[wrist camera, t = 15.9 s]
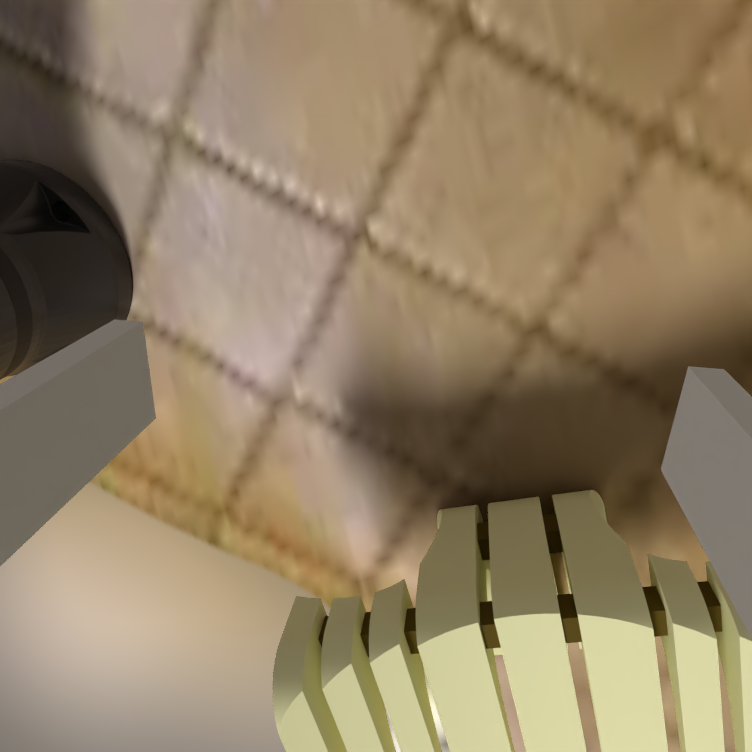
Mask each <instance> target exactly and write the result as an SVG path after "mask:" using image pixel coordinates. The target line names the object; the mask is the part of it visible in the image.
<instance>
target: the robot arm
mask: <svg viewBox="0 0 752 752" xmlns="http://www.w3.org/2000/svg"><path fill="white" fill-rule="evenodd" d="M131 298H132V279H131V271H130V266H129V261H128V258H127V254H126V251H125V249H124V246H123V243H122V241H121V239H120V237H119V235H118V233H117V231H116V229H115V227H114V226H113V224H112V222H111V221H110V219H109V218H108V217H107V215H106V214H105V212H104V211H103V210H102V209H101V207H100V206H99V205H98V204H97V203H96V202H95V200H94V199H93V198H92V197H91V196H90V195H89V194H87V193H86V192H85V191H84V190H83V189H82V188H81V187H79V186H78V185H77V184H75V183H74V182H73V181H71V180H70V179H68V178H67V177H65V176H63V175H62V174H60V173H58V172H56V171H54V170H52V169H50V168H47V167H45V166H42V165H39V164H35V163H32V162H27V161H20V160H1V161H0V380H1V379H2V378H4V377H6V376H13V375H16V376H14V377H12V378H10V379H9V380H7V381H5V382H3V383H1V384H0V566H1V565H2V564H3V563H4V562H5V561H6V560H7V559H8V558H10V557H11V556H12V555H13V554H14V553H15V552H16V551H17V550H18V549H19V548H20V547H21V546H22V545H23V544H24V543H25V542H26V541H27V540H28V539H29V538H30V537H32V535H34V534H35V532H37V531H38V530H39V529H40V528H41V527H42V526H43V525H44V524H45V523H46V522H47V521H48V520H49V519H50V518H51V517H52V516H54V515H55V514H56V513H57V512H58V511H59V510H60V509H61V508H62V507H63V506H64V505H65V504H66V503H67V502H68V501H69V500H70V499H71V498H73V497H74V496H75V495H76V494H77V493H78V492H79V491H80V490H81V489H82V488H83V487H84V486H85V485H86V484H87V483H88V482H89V481H90V480H91V479H92V478H94V477H95V476H96V475H97V474H98V473H99V472H100V471H101V470H102V469H103V468H104V467H105V466H106V465H107V464H108V463H109V462H110V461H111V460H112V459H113V458H115V457H116V456H117V455H118V454H119V453H120V452H121V451H122V450H123V449H124V448H125V447H126V446H127V445H128V444H129V443H130V442H131V441H132V440H133V439H134V438H136V437H137V436H138V435H139V434H140V433H141V432H142V431H143V430H144V429H145V428H146V427H147V426H148V425H149V424H150V423H151V422H152V421H153V420H154V419H155V418H156V415H155V408H154V401H153V393H152V386H151V378H150V371H149V364H148V356H147V349H146V341H145V334H144V327H143V322H139V321H126V319H127V316H128V313H129V310H130V305H131ZM661 471H662V473H663V475H664V477H665V479H666V481H667V482H668V484H669V486H670V488H671V490H672V492H673V494H674V495H675V497H676V499H677V501H678V503H679V505H680V507H681V508H682V510H683V512H684V514H685V516H686V518H687V520H688V521H689V523H690V525H691V527H692V529H693V531H694V533H695V534H696V536H697V538H698V540H699V542H700V544H701V546H702V547H703V549H704V551H705V553H706V555H707V557H708V559H709V560H710V562H711V564H712V566H713V568H714V570H715V572H716V573H717V575H718V577H719V579H720V581H721V583H722V585H723V586H724V588H725V590H726V592H727V594H728V596H729V598H730V599H731V601H732V603H733V605H734V607H735V609H736V610H737V612H738V614H739V616H740V618H741V620H742V622H743V623H744V625H745V627H746V629H747V631H748V633H749V635H750V636H751V638H752V396H751V395H750V394H749V393H748V392H747V391H746V390H745V389H744V388H743V387H742V386H741V385H740V384H739V383H738V382H737V381H736V380H734V379H733V378H732V377H731V376H730V375H729V374H728V373H727V372H726V371H725V370H724V369H716V368H703V367H691V366H688V369H687V373H686V377H685V380H684V384H683V388H682V392H681V395H680V399H679V403H678V407H677V410H676V414H675V418H674V422H673V425H672V429H671V433H670V436H669V440H668V444H667V448H666V451H665V455H664V459H663V463H662V466H661Z"/></svg>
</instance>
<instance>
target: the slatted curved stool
mask: <svg viewBox="0 0 752 752" xmlns="http://www.w3.org/2000/svg"><path fill="white" fill-rule="evenodd" d="M552 500H553V506H554V512H555V514H547V515H543V514H542V509H541V504H540V499H539V497H532V498H525V499H517V500H509V501H501V502H494V503H489V504H488V522H483V519H482V515H481V512H480V509H479V507H478V505H471V506H463V507H455V508H447V509H440V510H439V511H438V514H437V526H438V532H437V534H436V537H435V539H434V541H433V543H432V545H431V547H430V549H429V550H428V552H427V554H426V555H425V557H424V558H423V560H422V562H421V563H420V568H419V576H418V585H417V594H416V608H413V605H412V602H411V598H410V595H409V592H408V589H407V585H406V582H405V579H403V580H402V581H400V582H399V583H397V584H395V585H393V586H391V587H388V588H386V589H384V590H381V591H377V592H375V595H374V600H373V605H372V610H371V612H366V609H365V607H364V604H363V601H362V598H361V596H356V597H349V598H336V599H333V603H332V606H331V610H330V613H329V616H327V614H326V611H325V609H324V606H323V603H322V601H321V599H319V598H306V597H298V596H297V597H296V599H295V602H294V604H293V607H292V610H291V612H290V615H289V618H288V620H287V623H286V626H285V629H284V631H283V634H282V637H281V640H280V643H279V646H278V649H277V653H276V658H275V665H274V672H273V706H274V715H275V721H276V725H277V730H278V733H279V735H280V738H281V741H282V743H283V745H284V747H285V750H286V752H396V750H395V747H394V743H393V740H392V736H391V732H390V728H389V724H388V720H387V715H386V711H385V708H386V710H387V713H388V716H389V719H390V722H391V724H392V727H393V730H394V733H395V736H396V738H397V741H398V744H399V747H400V750H401V752H442V750H441V746H440V743H439V739H438V735H437V732H436V728H435V724H434V720H433V716H432V712H431V707H430V703H429V698H428V693H427V688H426V682H425V676H424V669H425V672H426V676H427V679H428V682H429V685H430V688H431V692H432V695H433V698H434V701H435V704H436V708H437V711H438V714H439V717H440V720H441V724H442V727H443V730H444V733H445V736H446V740H447V743H448V746H449V749H450V752H515V751H514V747H513V743H512V738H511V734H510V730H509V726H508V721H507V717H506V712H505V708H504V703H503V699H502V694H501V689H500V684H499V679H498V674H497V669H496V663H495V657H494V655H503V658H504V662H505V667H506V671H507V675H508V679H509V683H510V687H511V691H512V695H513V699H514V703H515V707H516V711H517V716H518V720H519V724H520V728H521V732H522V736H523V740H524V744H525V748H526V752H587V751H586V746H585V741H584V735H583V730H582V725H581V720H580V714H579V709H578V704H577V698H576V693H575V688H574V683H573V677H572V672H571V667H570V661H569V656H568V651H567V650H568V646H567V643H572V642H578V643H579V647H580V649H583V654H584V659H585V665H586V670H587V675H588V681H589V686H590V691H591V697H592V702H593V708H594V713H595V719H596V724H597V730H598V735H599V741H600V746H601V752H668V747H667V739H666V730H665V722H664V714H663V705H662V697H661V689H660V680H659V672H658V663H657V655H656V647H655V638H654V637H655V636H661V639H662V643H663V647H664V651H665V656H666V661H667V665H668V670H669V676H670V681H671V687H672V693H673V699H674V705H675V711H676V718H677V725H678V732H679V740H680V747H681V752H725V751H724V737H723V722H722V708H721V693H720V679H719V664H718V651H719V655H720V659H721V663H722V667H723V671H724V676H725V681H726V686H727V691H728V697H729V703H730V710H731V717H732V724H733V733H734V741H735V751H736V752H752V638H751V636H750V635H749V633H748V631H747V629H746V627H745V625H744V623H743V622H742V620H741V618H740V616H739V614H738V612H737V610H736V609H735V607H734V605H733V603H732V601H731V599H730V598H729V596H728V594H727V592H726V590H725V588H724V586H723V585H722V583H721V581H720V579H719V577H718V575H717V573H716V572H715V570H714V568H713V566H712V564H711V562H706V573H707V581H705V582H697V581H696V579H695V577H694V575H693V573H692V571H691V569H690V567H689V565H688V563H687V561H678V560H671V559H665V558H661V557H656V556H653V555H650V554H648V562H649V570H650V579H651V586H650V587H642V585H641V582H640V579H639V576H638V573H637V571H636V568H635V565H634V562H633V560H632V557H631V554H630V551H629V549H628V546H627V543H626V541H625V540H624V539H623V538H621V537H620V536H619V535H618V534H617V533H616V532H615V531H614V530H613V529H612V528H611V527H610V526H609V525H608V524H607V520H606V513H605V507H604V503H603V500H602V498H601V496H600V495H599V494H598V493H597V492H596V491H594V490H586V491H578V492H571V493H563V494H555V495H552ZM558 552H562V556H563V561H564V567H565V572H566V578H567V583H568V589H569V594H563V595H558V593H557V588H556V583H555V577H554V572H553V567H552V562H551V556H550V553H558ZM717 648H718V650H717ZM423 666H424V669H423ZM384 705H385V706H384Z"/></svg>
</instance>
